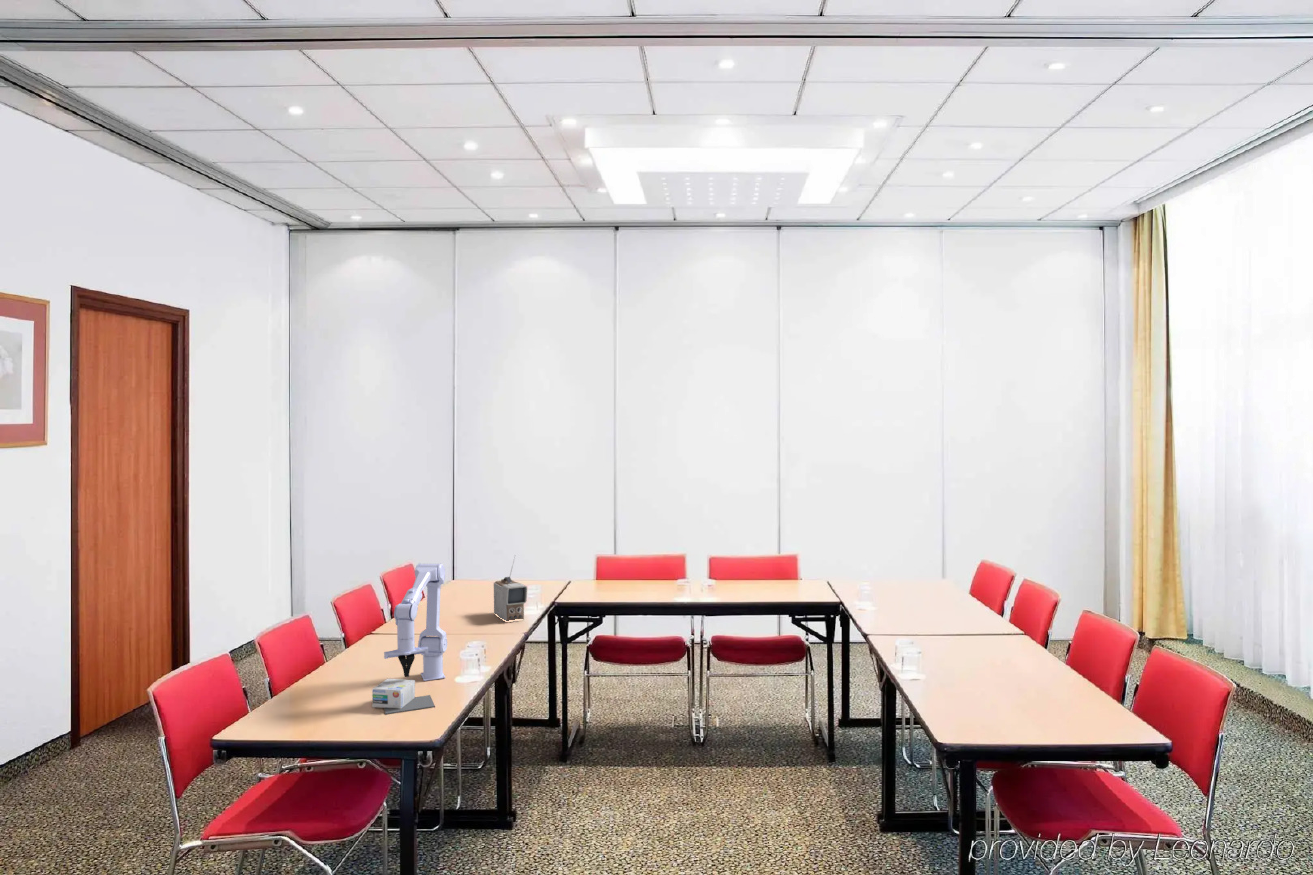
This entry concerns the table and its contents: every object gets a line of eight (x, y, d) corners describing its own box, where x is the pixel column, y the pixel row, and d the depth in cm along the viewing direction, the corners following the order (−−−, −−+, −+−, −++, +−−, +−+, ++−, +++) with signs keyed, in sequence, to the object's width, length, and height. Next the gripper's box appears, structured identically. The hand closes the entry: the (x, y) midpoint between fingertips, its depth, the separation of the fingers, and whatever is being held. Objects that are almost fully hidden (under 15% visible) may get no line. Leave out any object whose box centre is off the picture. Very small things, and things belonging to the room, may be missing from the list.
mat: (382, 703, 268) (382, 701, 268) (430, 696, 275) (430, 695, 275) (385, 714, 257) (385, 713, 257) (434, 707, 264) (434, 706, 264)
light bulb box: (387, 696, 273) (371, 708, 263) (387, 677, 273) (371, 688, 262) (415, 698, 272) (400, 709, 261) (415, 679, 271) (400, 690, 261)
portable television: (507, 625, 374) (506, 563, 374) (492, 614, 395) (491, 556, 394) (530, 621, 380) (530, 561, 379) (515, 611, 401) (514, 554, 400)
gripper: (385, 643, 264) (385, 682, 264) (428, 638, 270) (429, 676, 270) (383, 637, 271) (383, 676, 271) (426, 633, 277) (426, 670, 277)
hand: (406, 676), depth 271 cm, fingers closed
